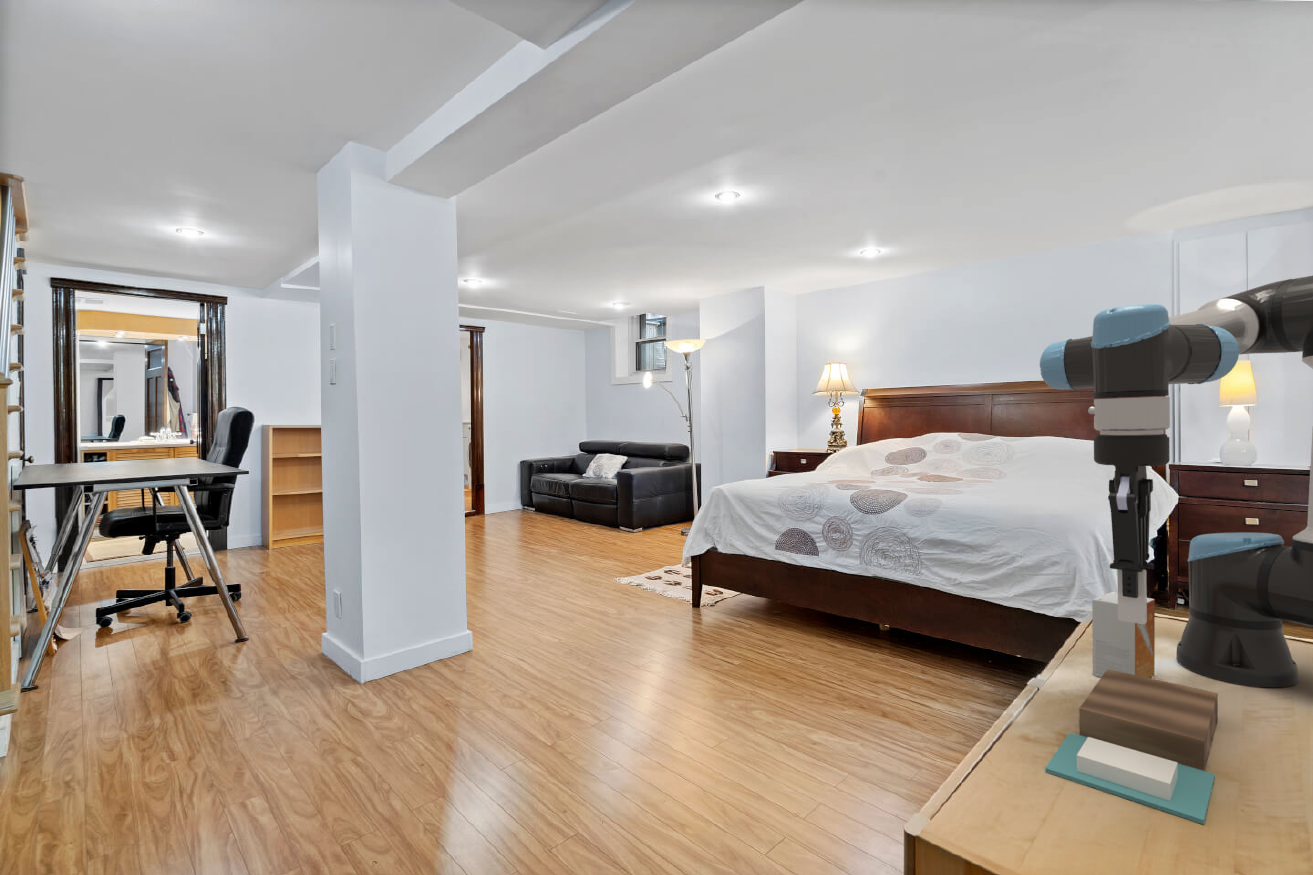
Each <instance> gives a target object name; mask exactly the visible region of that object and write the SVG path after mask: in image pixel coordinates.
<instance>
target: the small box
mask: <svg viewBox="0 0 1313 875" xmlns="http://www.w3.org/2000/svg"><path fill="white" fill-rule="evenodd" d="M1155 602H1156V599H1154V598H1150V597H1147V622H1146V624H1145V625H1144V624H1138V623H1132V622H1126V621H1120V620H1118V591H1114V590H1113V591H1111V592H1108V593H1105V594H1102V595H1100V596H1097V597H1096V598H1094V599H1092V603H1091V604H1092V605H1091V606H1092V609H1091V610H1092V612H1091V613H1092V620H1091V621H1092V623H1091V624H1092V627H1091V628H1092V672H1091V673H1092V675H1093V676H1096V677H1098V678H1099V677H1100V678H1101V677H1102V676H1103V674H1104V673H1105V671H1106V670H1107V669H1110V670H1114V671H1119V672H1124V673H1128V674H1133V675H1137V676H1142V677H1147V678H1152V677H1153V676H1155V665H1156V664H1155V645H1156V644H1155V641H1156V640H1155V639H1156V638H1155V633H1156V632H1155V629H1156V628H1155V625H1156V624H1155V623H1156V622H1155V620H1156V618H1155V613H1156V612H1155V609H1156V608H1155V607H1156V606H1155V604H1156V603H1155Z"/></svg>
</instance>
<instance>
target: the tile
mask: <svg viewBox="0 0 1313 875" xmlns="http://www.w3.org/2000/svg"><path fill="white" fill-rule="evenodd" d="M1077 771H1078V772H1081V773H1085V774H1088V775H1091V776H1094V777H1097V778H1100V779H1103V780H1106V781H1109V782H1112V783H1115V784H1119V785H1122V786H1125V787H1128V788H1131V789H1134V790H1137V791H1140V792H1143V793H1146V794H1150V795H1153V796H1156V797H1159V798H1162V799H1165V800H1168V801H1171V798H1172V795H1173V792H1174V789H1175V786H1176V783H1177V779H1178V762H1174V761H1171V760H1167V759H1164V758H1160V757H1157V756H1153V755H1150V754H1146V753H1143V752H1139V751H1136V750H1132V749H1129V748H1125V747H1122V746H1118V745H1115V744H1111V743H1108V742H1105V741H1101V740H1098V739H1094V738H1091V737H1088V738H1087V740H1086V741H1085V743H1084V744H1083V746H1082V747H1081V749H1080V751H1079V752H1078V754H1077Z"/></svg>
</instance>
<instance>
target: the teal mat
mask: <svg viewBox="0 0 1313 875" xmlns="http://www.w3.org/2000/svg"><path fill="white" fill-rule="evenodd" d="M1087 738H1088V737H1085V736H1081V735H1079V734H1077V733H1074V732H1069V733H1068V734H1067V736H1066V738H1065V739H1064V740H1063V742H1062V743H1061V745H1060V746H1059V748H1058V749H1057V750H1056V752H1055V753H1054V755H1053V756H1052V758H1051V759H1050V760H1049V762H1048V764H1047V765H1046V766H1045V768H1044V770H1045V773H1048V774H1051V775H1053V776H1056V777H1060V778H1062V779H1066V780H1068V781H1072V782H1075V783H1078V784H1081V785H1084V786H1087V787H1090V788H1092V787H1094V788H1093V789H1095V788H1096V790H1098V789H1099V791H1102V792H1104V793H1108V794H1110V795H1113V796H1117V797H1120V798H1123V799H1126V800H1129V801H1132V802H1134V803H1138V804H1141V805H1144V806H1147V807H1150V808H1153V809H1156V810H1159V811H1162V812H1165V813H1168V814H1171V815H1174V816H1177V817H1180V818H1183V819H1185V820H1189V821H1192V822H1195V823H1198V824H1201V825H1205V823H1206V818H1207V814H1208V808H1209V805H1210V804H1209V803H1210V800H1211V796H1212V792H1213V786H1214V784H1215V783H1214V782H1215V778H1216V776H1215V773H1213V772H1210V771H1206V770H1205V771H1203V770H1200V769H1196V768H1193V767H1189V766H1186V765H1182V764H1179V763H1178V779H1177V783H1176V786H1175V789H1174V792H1173V795H1172V798H1171V801H1168V800H1165V799H1162V798H1159V797H1156V796H1153V795H1150V794H1146V793H1143V792H1140V791H1137V790H1134V789H1131V788H1128V787H1125V786H1122V785H1119V784H1115V783H1112V782H1109V781H1106V780H1103V779H1100V778H1097V777H1094V776H1091V775H1088V774H1085V773H1081V772H1078V771H1077V754H1078V752H1079V751H1080V749H1081V747H1082V746H1083V744H1084V743H1085V741H1086V740H1087Z"/></svg>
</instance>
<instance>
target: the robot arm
mask: <svg viewBox="0 0 1313 875" xmlns="http://www.w3.org/2000/svg"><path fill="white" fill-rule="evenodd" d="M1300 352H1302V357H1301V361H1302V363H1303V364H1305V365H1307V366H1308V367H1309V368H1311V369H1312V370H1313V275H1309V276H1303V277H1297V278H1290V279H1283V280H1279V281H1274V282H1271V283H1267V284H1264V285H1261V286H1257V287H1255V288H1251V289H1248V290H1244V291H1241V292H1238V293H1236V294H1232V295H1228V296H1226V297H1221V298H1218V299H1215V300H1211V301H1208V302H1206V303H1205V304H1203V305H1202V306H1200V307H1199V308H1198V309H1197V310H1194V311H1191V312H1186V313H1182V314H1178V315H1175V316H1170V317H1169V311H1168V309H1167V308H1166V307H1165V306H1164V305H1162V304H1153V303H1151V304H1135V305H1125V306H1118V307H1113V308H1108V309H1104V310H1102V311H1099V312H1098V313H1097V314H1096V315H1095V316H1094V318H1093V325H1092V335H1091V336H1086V337H1080V338H1075V339H1072V338H1067V339H1066V340H1061V341H1056V342H1053V343H1051V344H1049V345H1048V346H1047V347H1045V348H1044V350H1043V352H1042V353H1041V356H1040V360H1039V368H1040V375H1041V378H1042V380H1043V382H1044V383H1045V384H1046V385H1047V386H1048V387H1050V388H1052V389H1054V390H1064V391H1065V390H1070V391H1076V390H1083V389H1088V390H1089V389H1093V393H1092V394H1093V405H1094V406H1090V407H1089V408H1088V410H1087V412H1088V413H1089V414H1090V415H1094V417H1093V429H1095V430H1096V431H1099V434H1096V435H1095V437H1093V461H1094V462H1095V463H1096V464H1097V465H1103V466H1114V468H1115V470H1114V477H1113V479H1109V481H1108V492H1109V493H1108V497H1107V500H1108V501H1109V508H1110V518H1111V532H1112V534H1111V535H1112V548H1113V549H1112V550H1113V561H1112V562H1111V563H1110V564H1109V569H1111V570H1117V572H1116V573H1117V575H1116V576H1117V592H1118V620H1120V621H1126V622H1132V623H1138V624H1144V625H1145V624H1146V622H1147V598H1148V597H1147V596H1148V595H1147V593H1148V591H1147V588H1148V587H1147V570H1146V569H1150V570H1154V567H1155V563H1154V562H1148V561H1149V559H1150V553H1149V551H1150V550H1149V549H1150V548H1149V546H1150V545H1149V544H1150V520H1151V519H1150V518H1151V517H1150V514H1151V509H1152V507H1151V506H1152V504H1151V503H1152V502H1151V501H1152V498H1151V494H1152V492H1153V490H1154V480H1153V478H1148V477H1147V475H1148V474H1147V467H1155V466H1157V467H1159V466H1165V465H1167V464H1169V462H1170V436H1168V434H1166V433H1165V431H1166V430H1168V429H1169V428H1171V407H1170V406H1171V402H1170V400H1171V399H1170V398H1171V397H1170V396H1169V395H1170V394H1169V391H1170V390H1169V388H1170V387H1169V385H1179V384H1180V385H1181V384H1182V385H1183V384H1188V385H1195V384H1197V385H1201V384H1204V383H1210V382H1215V381H1217V380H1221V379H1222V378H1224V377H1225V376H1227V375H1228V374H1229V373H1230V372H1231V371H1233V369H1234V368H1235V366H1236V364H1237V363H1238V360H1239V356H1240V355H1250V354H1282V353H1283V354H1285V353H1300ZM1164 430H1165V431H1164ZM1311 430H1312V431H1311V432H1312V433H1311V449H1310V450H1311V451H1310V467H1309V468H1310V469H1309V471H1310V472H1309V484H1308V485H1309V490H1308V505H1307V506H1308V507H1307V524H1306V525H1307V526H1306V527H1305V529H1303V530H1301V531H1300V532H1298V533H1296V534H1294V535H1293V536H1292V538H1291V539H1292V541H1291V543H1292V544H1291V546H1288V545H1287V546H1286V545H1284V544H1285V541H1284V539H1283V536H1281V535H1280V534H1275V533H1271V532H1270V533H1269V532H1268V533H1267V532H1216V533H1205V534H1200V535H1196V536H1195V537H1193V538H1192V539H1191V540H1190V542H1189V552H1188V558H1187V562H1188V595H1189V596H1188V598H1189V599H1188V600H1189V603H1188V606H1189V612H1188V613H1189V615H1188V616H1189V617H1188V620H1187V622H1186V625H1185V626H1184V629H1183V633H1182V635H1181V639H1180V641H1179V642H1178V643H1177V645H1176V661H1177V662H1178V664H1180V665H1181V666H1183V667H1185V668H1186V669H1188V670H1190V671H1192V672H1194V673H1196V674H1200V675H1203V676H1205V677H1208V678H1211V679H1214V680H1215V679H1216V680H1219V681H1224V682H1229V683H1234V684H1238V685H1244V686H1252V687H1258V688H1260V687H1261V688H1285V687H1291V686H1294V685H1297V683H1298V681H1299V672H1298V671H1299V669H1298V665H1297V663H1296V661H1295V660H1294V659H1293V657H1292V654H1291V651H1290V647H1289V645H1288V642H1287V640H1286V637H1285V634H1284V632H1283V621H1287V622H1289V623H1290V622H1291V623H1294V624H1300V625H1303V626H1308V627H1313V427H1312V429H1311Z"/></svg>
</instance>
